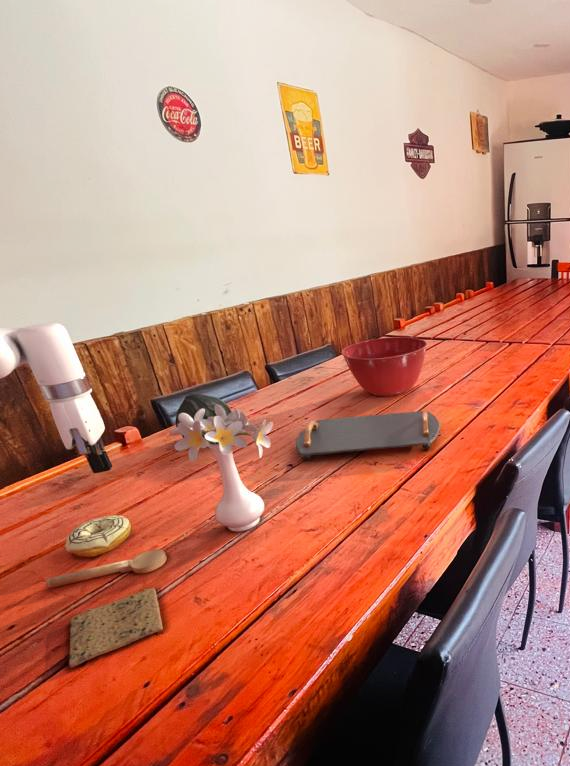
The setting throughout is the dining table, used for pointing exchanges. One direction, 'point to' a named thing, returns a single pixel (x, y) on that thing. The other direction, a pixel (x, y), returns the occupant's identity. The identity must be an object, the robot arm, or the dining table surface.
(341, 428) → the serving tray
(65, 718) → the dining table surface
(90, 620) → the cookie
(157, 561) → the spoon
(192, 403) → the squash
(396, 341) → the mixing bowl
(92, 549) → the decorated donut
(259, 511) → the flower vase
